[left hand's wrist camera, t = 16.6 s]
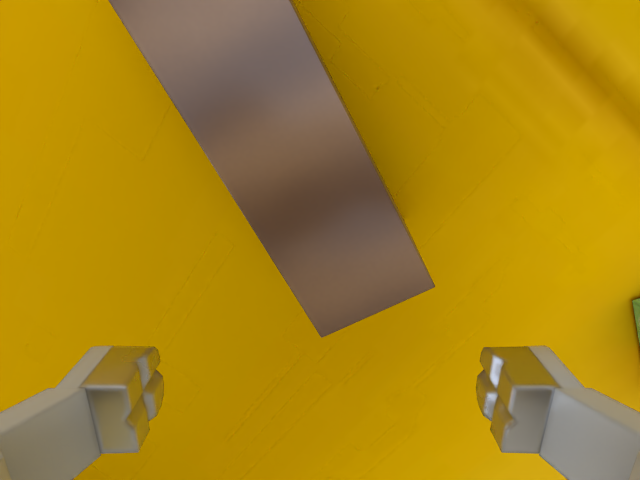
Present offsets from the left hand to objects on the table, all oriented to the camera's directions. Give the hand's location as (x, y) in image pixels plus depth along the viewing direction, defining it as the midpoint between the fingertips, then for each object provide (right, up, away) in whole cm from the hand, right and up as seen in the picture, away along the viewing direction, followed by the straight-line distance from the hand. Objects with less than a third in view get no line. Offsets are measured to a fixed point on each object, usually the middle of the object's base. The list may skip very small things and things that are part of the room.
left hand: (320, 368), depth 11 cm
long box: (-2, +12, +15) cm, 19 cm away
